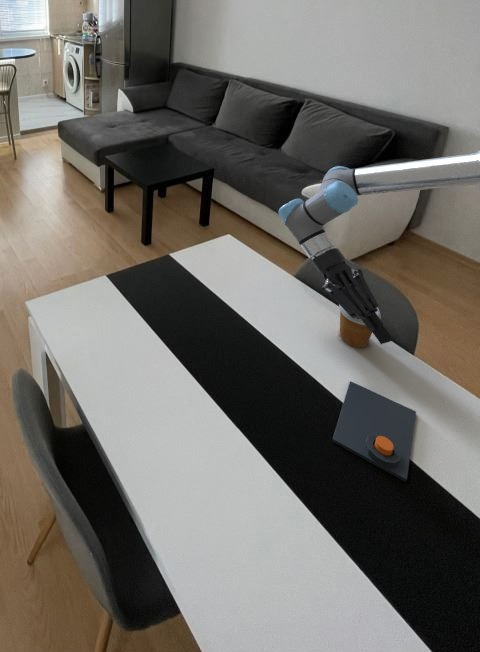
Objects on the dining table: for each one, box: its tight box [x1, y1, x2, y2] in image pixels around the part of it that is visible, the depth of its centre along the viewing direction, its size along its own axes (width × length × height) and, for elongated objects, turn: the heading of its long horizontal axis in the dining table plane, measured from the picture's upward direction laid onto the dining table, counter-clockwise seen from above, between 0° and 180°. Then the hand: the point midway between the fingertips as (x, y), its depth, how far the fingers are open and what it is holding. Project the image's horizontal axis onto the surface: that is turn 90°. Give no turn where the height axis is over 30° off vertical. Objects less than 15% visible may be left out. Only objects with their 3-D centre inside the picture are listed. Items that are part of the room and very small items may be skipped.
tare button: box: [375, 436, 394, 456], centre depth 88 cm, size 3×3×2 cm
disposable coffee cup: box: [338, 303, 382, 348], centre depth 115 cm, size 10×10×12 cm
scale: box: [331, 380, 417, 483], centre depth 94 cm, size 18×13×4 cm
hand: (387, 341), depth 103 cm, fingers closed
